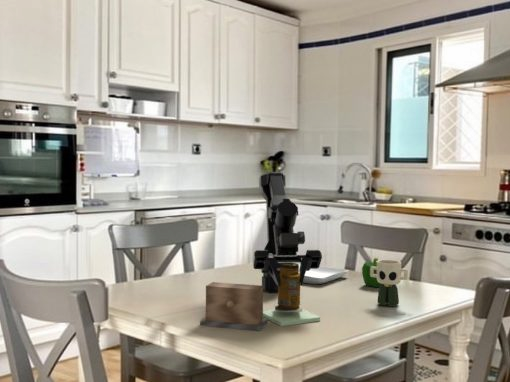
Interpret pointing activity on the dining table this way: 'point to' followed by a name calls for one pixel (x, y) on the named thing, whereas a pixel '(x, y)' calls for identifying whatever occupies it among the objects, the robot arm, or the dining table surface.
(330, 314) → the dining table surface
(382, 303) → the character mug
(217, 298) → the walnut unit
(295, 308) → the condiment
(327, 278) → the salad plate
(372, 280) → the bell pepper
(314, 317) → the sage pad
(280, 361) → the dining table surface
